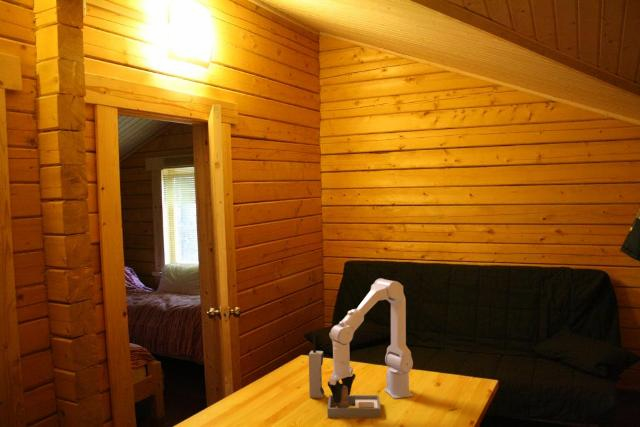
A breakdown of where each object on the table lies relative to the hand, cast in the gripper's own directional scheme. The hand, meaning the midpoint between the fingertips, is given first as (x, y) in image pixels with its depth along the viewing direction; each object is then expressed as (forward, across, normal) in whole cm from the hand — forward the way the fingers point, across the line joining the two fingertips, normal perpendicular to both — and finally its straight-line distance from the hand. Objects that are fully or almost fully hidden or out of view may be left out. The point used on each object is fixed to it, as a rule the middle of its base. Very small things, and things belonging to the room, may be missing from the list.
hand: (342, 398), depth 182 cm
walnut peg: (+4, 0, 0) cm, 4 cm away
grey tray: (+4, +2, -4) cm, 6 cm away
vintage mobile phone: (+4, +7, +14) cm, 17 cm away
